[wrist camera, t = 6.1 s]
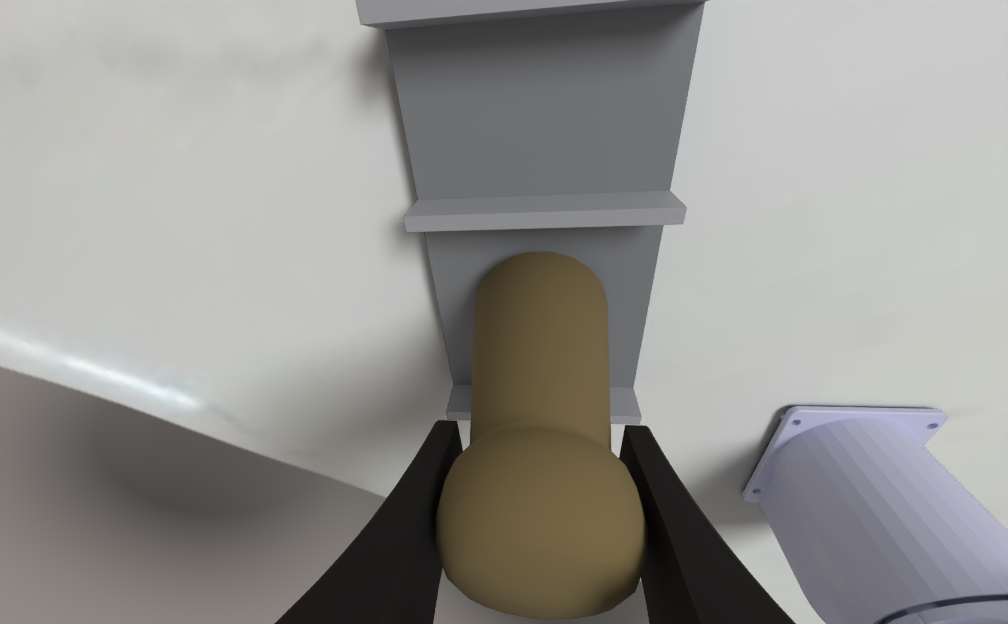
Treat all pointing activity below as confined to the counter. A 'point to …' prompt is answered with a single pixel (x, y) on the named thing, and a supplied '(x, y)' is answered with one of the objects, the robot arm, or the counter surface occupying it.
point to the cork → (541, 453)
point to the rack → (542, 149)
